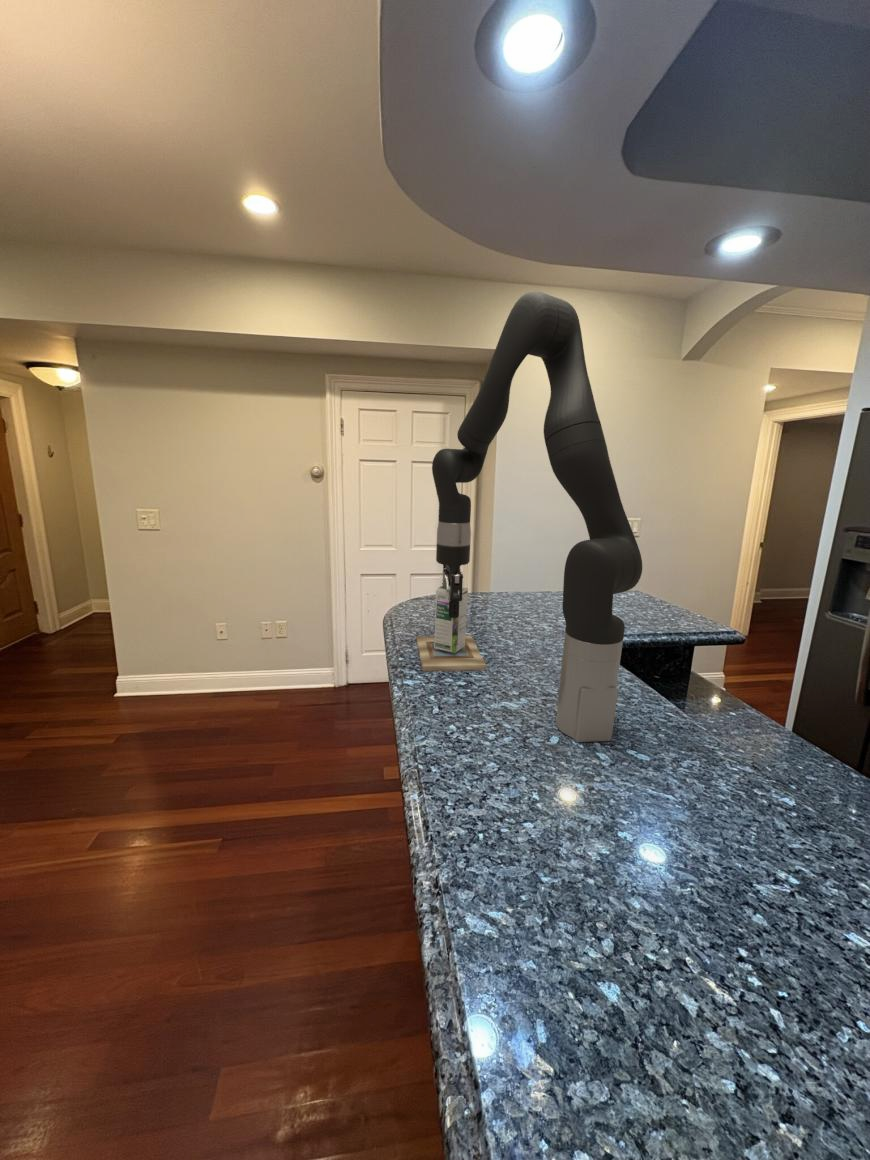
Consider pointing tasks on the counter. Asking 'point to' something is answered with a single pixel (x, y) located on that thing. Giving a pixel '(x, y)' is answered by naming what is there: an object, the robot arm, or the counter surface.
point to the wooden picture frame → (449, 656)
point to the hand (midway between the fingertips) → (450, 611)
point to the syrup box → (449, 622)
